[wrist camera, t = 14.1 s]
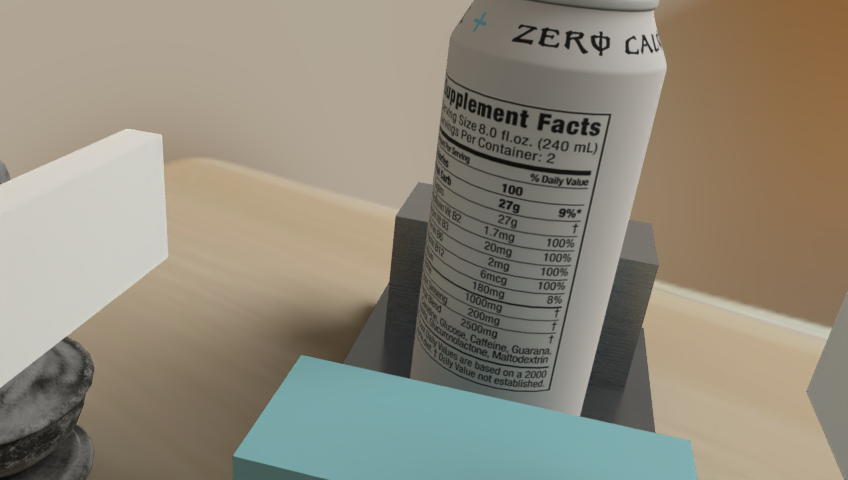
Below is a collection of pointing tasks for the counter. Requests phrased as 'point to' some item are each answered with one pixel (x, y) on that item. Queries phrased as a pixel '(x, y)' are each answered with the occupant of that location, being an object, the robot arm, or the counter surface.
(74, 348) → the salt shaker
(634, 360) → the grey base stand
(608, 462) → the sliding jaw
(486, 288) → the energy drink can
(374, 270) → the counter surface
